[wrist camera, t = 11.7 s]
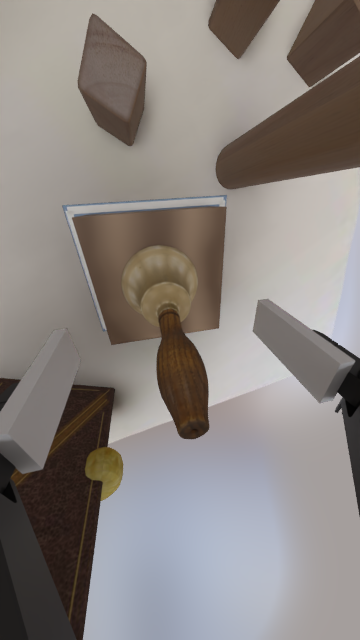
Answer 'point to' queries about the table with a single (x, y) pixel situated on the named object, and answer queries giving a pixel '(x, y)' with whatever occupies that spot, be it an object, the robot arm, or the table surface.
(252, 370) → the table surface
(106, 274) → the walnut plinth
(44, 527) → the book
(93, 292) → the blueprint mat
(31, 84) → the table surface
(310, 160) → the wooden blocks
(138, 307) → the hand bell
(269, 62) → the table surface
